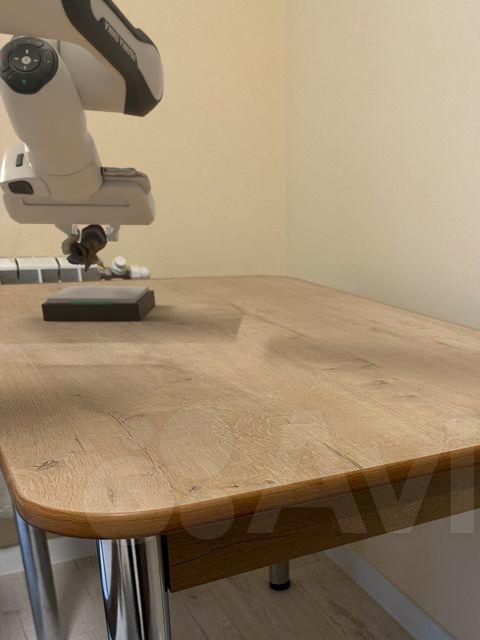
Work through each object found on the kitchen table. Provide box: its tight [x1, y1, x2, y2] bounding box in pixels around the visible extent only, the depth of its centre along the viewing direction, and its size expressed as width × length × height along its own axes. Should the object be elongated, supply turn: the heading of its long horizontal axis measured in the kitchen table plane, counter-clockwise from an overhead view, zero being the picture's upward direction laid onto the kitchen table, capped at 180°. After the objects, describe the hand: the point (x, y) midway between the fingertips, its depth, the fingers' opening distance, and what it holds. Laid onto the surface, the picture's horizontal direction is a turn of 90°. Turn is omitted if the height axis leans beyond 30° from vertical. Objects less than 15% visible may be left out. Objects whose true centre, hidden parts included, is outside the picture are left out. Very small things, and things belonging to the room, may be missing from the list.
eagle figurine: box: [60, 225, 108, 273], centre depth 108 cm, size 8×7×9 cm
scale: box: [41, 285, 156, 322], centre depth 111 cm, size 14×14×3 cm
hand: (94, 237), depth 108 cm, fingers closed on eagle figurine, 4 cm apart
